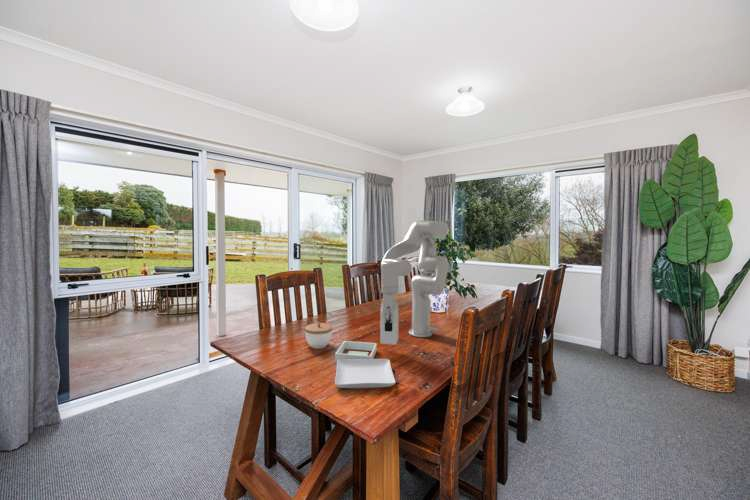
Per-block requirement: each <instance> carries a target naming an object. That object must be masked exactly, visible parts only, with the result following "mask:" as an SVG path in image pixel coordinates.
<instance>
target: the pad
mask: <svg viewBox="0 0 750 500" xmlns="http://www.w3.org/2000/svg"><path fill="white" fill-rule="evenodd" d="M369 352H370V351H369ZM369 352H368V351H361V350H348V352H347V353H346V354H354V355H366V356H369Z"/></svg>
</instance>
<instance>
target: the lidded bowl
mask: <svg viewBox="0 0 750 500" xmlns="http://www.w3.org/2000/svg"><path fill="white" fill-rule="evenodd" d="M304 329H305V330H304V331H305V333H304V334H305V340H306V343H307V344H308V345H309V346H310V348H312V349H316V350H320V349H324V348H326V347H327V345H329V343H330V342H331V339H332V336H333V325H331V324H329V323H326V322H314V323H310V324H308V325H306V326H305V328H304Z"/></svg>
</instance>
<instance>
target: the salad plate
mask: <svg viewBox="0 0 750 500" xmlns="http://www.w3.org/2000/svg"><path fill="white" fill-rule="evenodd" d="M391 365H392V364H391V360H390V359H388V358H373V359H342V360H338V361H337V362H336V373H335V377H334V384H335V386H336V387H338V388H340V389H375V388H376V389H379V388H380V389H381V388H390V387H392V386H394V385H395V384H396V379H395V375H394V372H393V370H392V366H391Z"/></svg>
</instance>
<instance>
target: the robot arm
mask: <svg viewBox="0 0 750 500" xmlns="http://www.w3.org/2000/svg"><path fill="white" fill-rule="evenodd" d="M448 233H449V228H448V224H447V223H446V222H444V221H435V220H416V221H415V220H414V221H413V222H412V223H411V224H410V225H409V228H408V229H407V231H406V233H405V236H404V237H403V239H402V240H401V241H399V242H398V243H396V244H394V245H393V246H392V247H390V248H389V249H388V250H387V251H386V253H385V254H384V257H383V258H382V260H381V264H380V273H381V274H380V278H381V279H380V280H381V281H380V283H381V284H380V286H381V287H380V291H381V292H380V293H381V294H382V300H383V308H382V315H383V316H384V315H385V314H386V315H385V331H392V316H393V313H394V307H395V300H396V299H397V298H396V294H398V293H399V277H406V276H408V275H409V274H410V273H411V272H412V263H411V262H410V261H409V260H407V259H403V258H402V259H400V257H403V256H406V255H410V254H413V253H415V252H416V251H418V249H420V250H419V255H418V261H417V270H418V271H419V272H421V273H424V274H416V275H414V276H412V278H411V280H410V281H411V282H410V286H411V293H412V300H411V301H412V302H411V303H412V304H411V305H412V306H411V308H412V309H411V328H410V329H409V330H408V334H409V335H410V336H413V337H415V338H418V337H419V338H430V337H432V336H433V333H439V328H438V327H435V326H431V305H432V303H431V299H430V296H429V295H433V296H440V295H442V294H443V293H444V290H445V286H446V282H447V281H446V280H447V275H448V268H449V266H448V265H449V264H448V259H447V258H446V257H444V256H441V255H436V254H437V245H436V243H435V241H434V240H433V239H444V238H445V237H446V236H447V235H448ZM419 247H420V248H419ZM427 274H434V275H427ZM390 312H391V315H389V314H390ZM389 317H390V318H389Z"/></svg>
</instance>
